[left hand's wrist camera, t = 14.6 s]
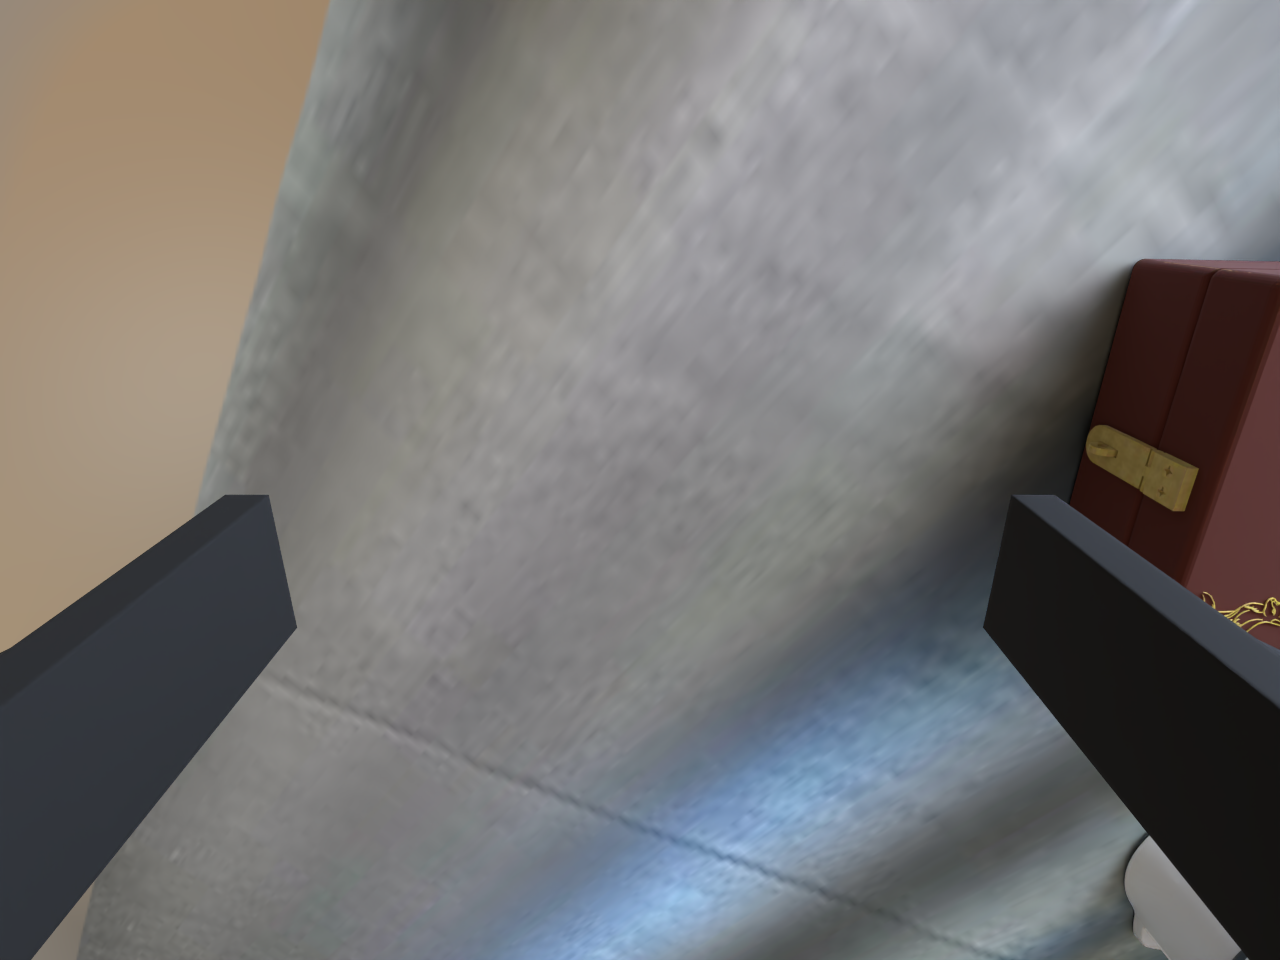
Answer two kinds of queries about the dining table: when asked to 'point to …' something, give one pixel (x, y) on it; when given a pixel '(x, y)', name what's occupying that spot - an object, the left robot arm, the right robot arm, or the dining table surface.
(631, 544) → the dining table surface
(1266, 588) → the box
